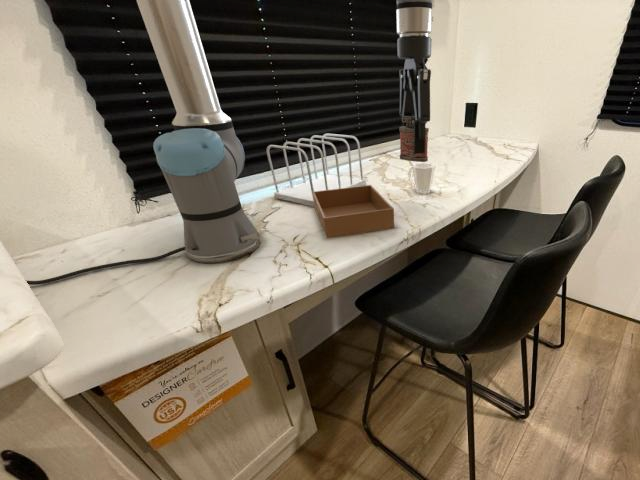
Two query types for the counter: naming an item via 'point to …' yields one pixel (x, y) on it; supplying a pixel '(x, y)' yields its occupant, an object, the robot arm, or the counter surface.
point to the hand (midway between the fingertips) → (413, 149)
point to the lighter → (411, 141)
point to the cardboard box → (352, 211)
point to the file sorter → (324, 182)
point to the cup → (422, 177)
